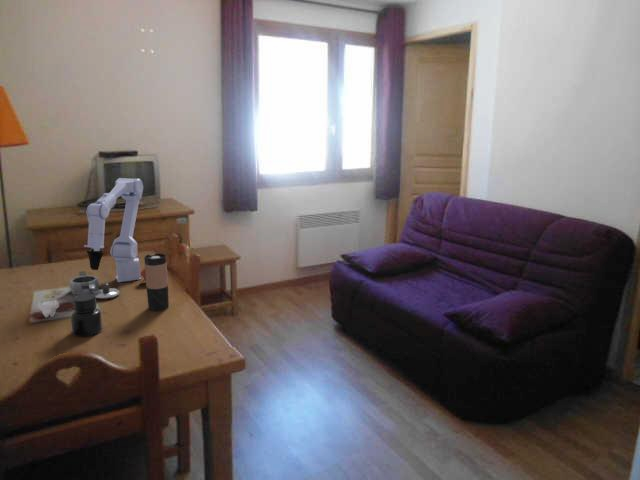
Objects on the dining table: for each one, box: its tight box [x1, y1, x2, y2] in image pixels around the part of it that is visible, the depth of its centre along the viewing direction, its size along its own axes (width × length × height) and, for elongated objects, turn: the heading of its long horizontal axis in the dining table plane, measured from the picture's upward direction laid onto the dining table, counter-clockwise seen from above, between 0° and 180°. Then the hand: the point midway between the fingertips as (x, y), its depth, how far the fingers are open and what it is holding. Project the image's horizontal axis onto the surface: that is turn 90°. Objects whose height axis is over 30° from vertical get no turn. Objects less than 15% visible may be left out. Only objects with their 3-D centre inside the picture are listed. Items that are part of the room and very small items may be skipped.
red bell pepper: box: [139, 267, 146, 284], centre depth 213 cm, size 7×7×10 cm
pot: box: [69, 270, 100, 296], centre depth 204 cm, size 10×20×5 cm, turn 28°
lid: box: [93, 282, 120, 300], centre depth 197 cm, size 10×10×5 cm
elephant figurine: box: [37, 299, 60, 318], centre depth 178 cm, size 7×8×6 cm
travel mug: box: [143, 253, 170, 312], centre depth 185 cm, size 8×8×20 cm
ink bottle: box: [70, 294, 103, 337], centre depth 165 cm, size 10×9×12 cm
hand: (94, 269), depth 195 cm, fingers open, 7 cm apart
